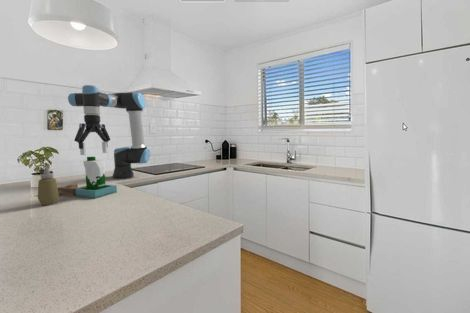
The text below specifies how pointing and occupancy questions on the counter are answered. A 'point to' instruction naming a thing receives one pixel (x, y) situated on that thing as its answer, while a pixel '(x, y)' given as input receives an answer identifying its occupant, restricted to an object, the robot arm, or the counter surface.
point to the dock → (68, 190)
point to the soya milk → (95, 173)
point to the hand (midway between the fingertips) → (94, 154)
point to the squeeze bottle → (47, 188)
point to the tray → (96, 192)
